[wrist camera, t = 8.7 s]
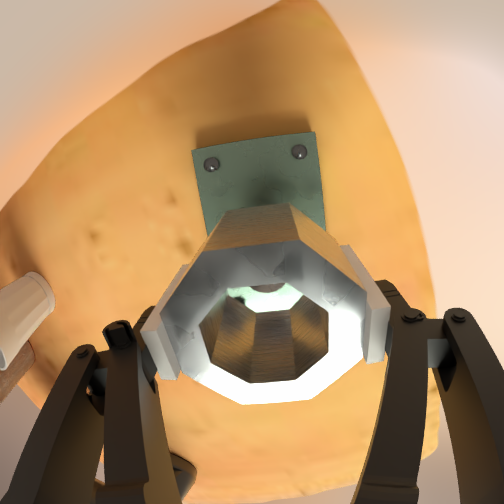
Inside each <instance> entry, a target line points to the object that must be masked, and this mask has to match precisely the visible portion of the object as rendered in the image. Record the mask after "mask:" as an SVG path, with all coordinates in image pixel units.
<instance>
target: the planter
mask: <svg viewBox="0 0 504 504" xmlns="http://www.w3.org/2000/svg"><path fill="white" fill-rule="evenodd" d="M34 361H35V357H34V352H33V350H32V347H31V345H30V343H29V342H28V340H27V341H26V342H25V343H24V345H23V346H22V347H21V348H20V350H19V352H18V353H17V355H16V356H15V357H14V359H13V360H12V362H11V363H10V364H9V366H8V367H7V369H6V370H0V405H1V403H2V402H3V401H4V400H5V398H6V397H7V396H8V394H9V393H10V392H11V391H12V389H13V388H14V387H15V385H16V384H17V383H18V382H19V381H20V379H21V378H22V377H23V376H24V374H25V373H26V372H27V371H28V370H29V368H30V367H31V366H32V364H33V363H34Z"/></svg>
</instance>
